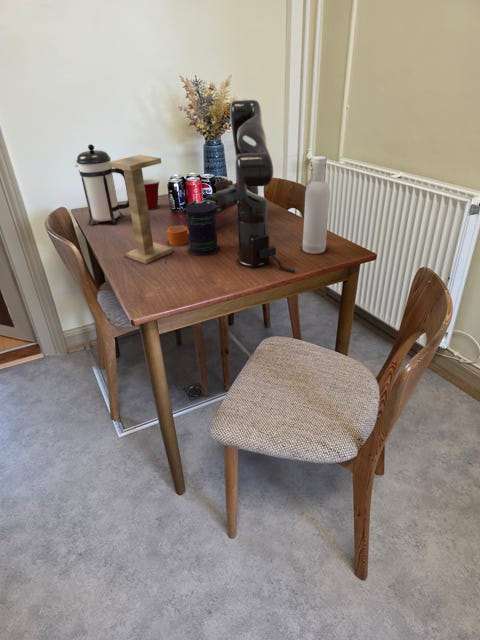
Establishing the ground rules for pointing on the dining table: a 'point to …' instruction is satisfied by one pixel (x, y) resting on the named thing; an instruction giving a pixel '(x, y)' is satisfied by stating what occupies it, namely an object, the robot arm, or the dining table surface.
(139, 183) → the plant stand
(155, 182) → the plastic cup
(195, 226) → the storage jar
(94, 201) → the coffee press
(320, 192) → the bottle
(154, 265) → the dining table surface
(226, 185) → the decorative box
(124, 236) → the dining table surface
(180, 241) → the measuring scoop
